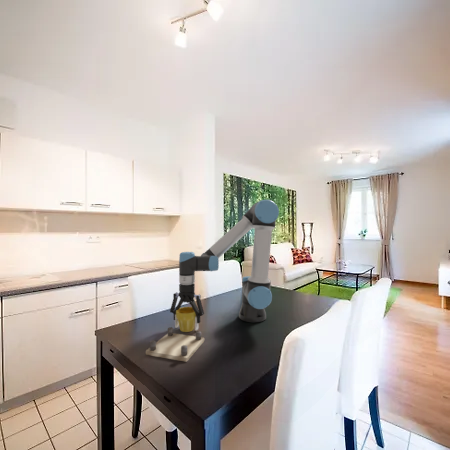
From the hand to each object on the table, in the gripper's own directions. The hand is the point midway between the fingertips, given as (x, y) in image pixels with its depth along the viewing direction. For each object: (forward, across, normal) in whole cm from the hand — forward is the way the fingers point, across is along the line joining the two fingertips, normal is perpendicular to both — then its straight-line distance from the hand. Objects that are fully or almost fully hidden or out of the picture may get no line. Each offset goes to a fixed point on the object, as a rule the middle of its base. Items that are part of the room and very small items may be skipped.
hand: (186, 328), depth 125 cm
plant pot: (+1, 0, 0) cm, 1 cm away
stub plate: (+1, +4, -18) cm, 18 cm away
